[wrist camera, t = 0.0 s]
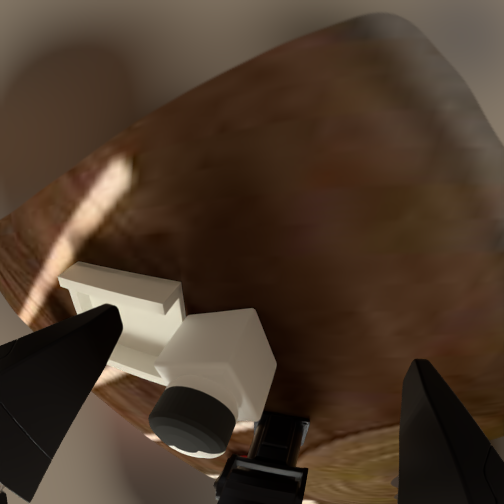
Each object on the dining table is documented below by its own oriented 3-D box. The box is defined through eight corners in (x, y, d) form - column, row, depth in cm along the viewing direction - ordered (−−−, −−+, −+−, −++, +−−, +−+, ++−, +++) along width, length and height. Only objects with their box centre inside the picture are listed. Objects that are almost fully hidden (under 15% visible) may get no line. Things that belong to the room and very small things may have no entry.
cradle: (194, 368, 32) (181, 390, 29) (102, 339, 35) (87, 356, 32) (181, 281, 27) (162, 304, 24) (78, 261, 30) (57, 276, 27)
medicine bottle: (186, 313, 29) (120, 408, 18) (255, 305, 26) (202, 421, 16) (214, 366, 31) (167, 458, 21) (278, 364, 29) (244, 472, 18)
